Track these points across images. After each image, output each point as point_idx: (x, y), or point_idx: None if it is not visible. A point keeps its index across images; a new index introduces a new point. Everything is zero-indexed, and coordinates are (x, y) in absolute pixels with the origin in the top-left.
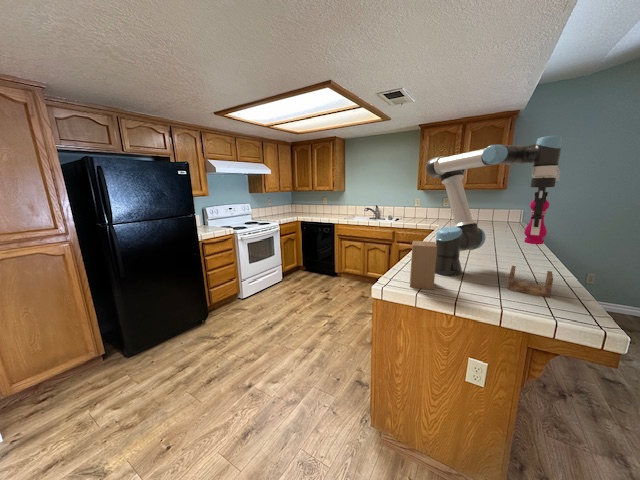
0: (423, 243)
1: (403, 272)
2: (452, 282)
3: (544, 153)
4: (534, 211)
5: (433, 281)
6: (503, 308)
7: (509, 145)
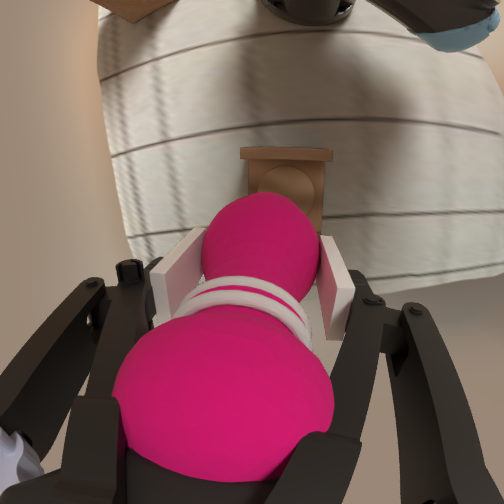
0: None
1: None
2: (211, 26)
3: None
4: (60, 307)
5: (121, 16)
6: (121, 157)
7: None
